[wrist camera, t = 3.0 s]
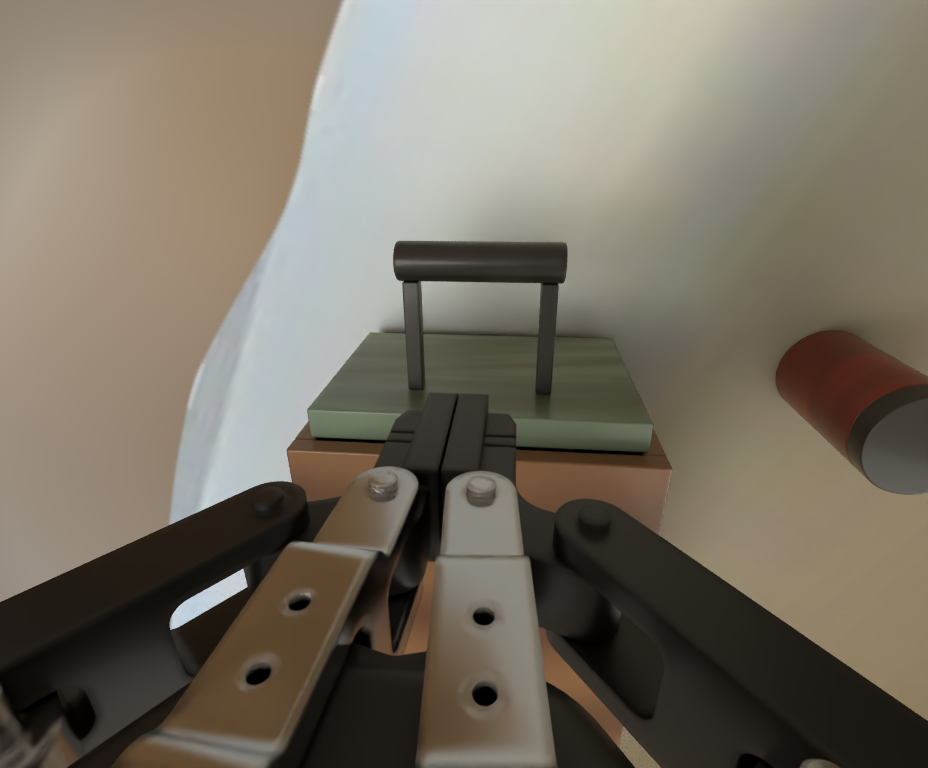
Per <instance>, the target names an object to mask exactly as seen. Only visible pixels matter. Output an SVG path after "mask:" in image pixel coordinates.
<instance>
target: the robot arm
mask: <svg viewBox="0 0 928 768" xmlns="http://www.w3.org/2000/svg"><path fill="white" fill-rule="evenodd" d="M488 408H489V397H488V394H472V393H460V395H458V393H442V392H430V393H429V395H428V397H427V400H426V403H425V405H424V408H423V410H407V411H406V412H405V413H403V414H402V415H401V416H399V417H398V418H397V419H396V420H395V422H394V424H393V426H392V429H391V433H389V435H388V437H387V440H386V442H385V444H384V446H383V448H382V451H381V453H380V455H379V457H378V459H377V462H376V464H375V466H374V468H373V469H369V470H367V471H364V472H362V473H360V474H359V475H357V476H356V477H355V478H354V479H353V480H352V481H351V482H350V484H349V485H348V487H347V488H346V490H345V492H344V493H343V495H342V496H339V497H335V498H330V499H323V500H317V501H310V502H307V497H306V492H305V490H304V489H303V488H302V487H301V486H299V485H297V484H294V483H291V482H283V481H280V482H269V483H264V484H261V485H258V486H255V487H253V488H250V489H248V490H246V491H244V492H242V493H239V494H237V495H235V496H233V497H231V498H228V499H226V500H224V501H222V502H220V503H217V504H215V505H213V506H211V507H209V508H206V509H204V510H202V511H200V512H198V513H195V514H193V515H191V516H189V517H187V518H184V519H182V520H180V521H178V522H176V523H173V524H171V525H169V526H167V527H165V528H162V529H160V530H158V531H156V532H154V533H151V534H149V535H147V536H145V537H143V538H140V539H138V540H136V541H134V542H132V543H129V544H127V545H125V546H123V547H121V548H118V549H116V550H114V551H112V552H110V553H107V554H105V555H103V556H101V557H99V558H96V559H94V560H92V561H90V562H88V563H85V564H83V565H81V566H79V567H77V568H74V569H72V570H70V571H68V572H66V573H63V574H61V575H59V576H57V577H55V578H52V579H50V580H48V581H46V582H44V583H42V584H39V585H37V586H35V587H33V588H31V589H28V590H26V591H24V592H22V593H19V594H17V595H15V596H13V597H11V598H9V599H6V600H4V601H2V602H0V768H635V767H634V766H633V764H632V763H631V762H630V761H629V760H628V758H627V757H626V756H625V755H624V753H623V752H622V751H621V750H620V748H619V747H618V746H617V745H616V744H615V742H614V741H613V740H612V739H611V737H610V736H609V735H608V734H607V733H606V731H605V730H604V729H603V728H602V727H601V725H600V724H599V723H598V722H597V721H596V720H595V718H594V717H593V716H592V715H590V714H589V713H588V712H587V711H586V710H585V709H584V708H583V707H582V706H581V705H580V704H579V703H578V702H577V701H575V700H574V699H573V698H571V697H570V696H569V695H568V694H566V693H565V692H563V691H562V690H560V689H558V688H557V687H555V686H554V685H552V684H550V683H548V682H546V679H545V671H544V663H543V656H542V648H541V640H540V633H539V627H541V628H544V629H546V636H547V639H548V641H549V643H550V645H551V646H552V647H553V648H554V650H555V651H556V652H557V653H558V654H559V655H560V656H561V657H562V659H563V660H564V661H565V662H566V663H567V664H568V665H569V666H570V667H571V668H572V670H573V671H574V672H575V673H576V674H577V675H578V676H579V677H580V678H581V680H582V681H583V682H584V683H585V684H586V685H587V686H588V687H589V688H590V689H591V691H592V692H593V693H594V694H595V695H596V696H597V697H598V698H599V699H600V701H601V702H602V703H603V704H604V705H605V706H606V707H607V708H608V709H609V710H610V712H611V713H612V714H613V715H614V716H615V717H616V718H617V719H618V720H619V722H620V723H621V724H622V725H623V726H624V727H625V728H626V729H627V730H628V731H629V733H630V734H631V735H632V736H633V737H634V738H635V739H636V740H637V741H638V743H639V744H640V745H641V746H642V747H643V748H644V749H645V750H646V751H647V753H648V754H649V755H650V756H651V757H652V758H653V759H654V760H655V761H656V762H657V764H658V765H659V766H660V767H661V768H928V721H927V720H925V719H924V718H922V717H921V716H920V715H918V714H917V713H915V712H914V711H912V710H911V709H909V708H908V707H907V706H905V705H904V704H902V703H901V702H899V701H898V700H896V699H895V698H894V697H892V696H891V695H889V694H888V693H886V692H885V691H883V690H882V689H881V688H879V687H878V686H876V685H875V684H873V683H872V682H870V681H869V680H867V679H866V678H865V677H863V676H862V675H860V674H859V673H857V672H856V671H854V670H853V669H852V668H850V667H849V666H847V665H846V664H844V663H843V662H841V661H840V660H839V659H837V658H836V657H834V656H833V655H831V654H830V653H828V652H827V651H826V650H824V649H823V648H821V647H820V646H818V645H817V644H815V643H814V642H812V641H811V640H810V639H808V638H807V637H805V636H804V635H802V634H801V633H799V632H798V631H797V630H795V629H794V628H792V627H791V626H789V625H788V624H786V623H785V622H784V621H782V620H781V619H779V618H778V617H776V616H775V615H773V614H772V613H771V612H769V611H768V610H766V609H765V608H763V607H762V606H760V605H759V604H757V603H756V602H755V601H753V600H752V599H750V598H749V597H747V596H746V595H744V594H743V593H742V592H740V591H739V590H737V589H736V588H734V587H733V586H731V585H730V584H729V583H727V582H726V581H724V580H723V579H721V578H720V577H718V576H717V575H716V574H714V573H713V572H711V571H710V570H708V569H707V568H705V567H704V566H702V565H701V564H700V563H698V562H697V561H695V560H694V559H692V558H691V557H689V556H688V555H687V554H685V553H684V552H682V551H681V550H679V549H678V548H676V547H675V546H674V545H672V544H671V543H669V542H668V541H666V540H665V539H663V538H662V537H661V536H659V535H658V534H656V533H655V532H653V531H652V530H650V529H649V528H647V527H646V526H645V525H643V524H642V523H640V522H639V521H637V520H636V519H634V518H633V517H632V516H630V515H629V514H627V513H626V512H624V511H623V510H621V509H620V508H618V507H617V506H615V505H612V504H610V503H608V502H605V501H601V500H596V499H577V500H572V501H569V502H567V503H565V504H563V505H562V506H561V507H559V509H558V510H557V511H556V513H554V512H551V511H547V510H544V509H541V508H538V507H536V506H534V505H532V504H530V503H529V502H527V501H526V500H525V499H524V498H523V497H522V496H521V495H520V494H519V492H518V490H517V487H516V423H515V422H514V420H513V419H512V418H511V417H510V415H509V414H504V413H488ZM428 561H430V562H435V572H434V582H433V592H432V602H431V612H430V622H429V632H428V642H427V651H425V652H418V653H412V654H405V655H404V652H405V649H406V646H407V643H408V639H409V636H410V633H411V630H412V627H413V624H414V620H415V617H416V614H417V611H418V608H419V604H420V601H421V598H422V595H423V590H424V584H423V577H424V575H425V572H426V567H427V563H428ZM241 569H244V573H245V577H246V581H247V585H248V587H247V588H245V589H244V590H242V591H240V592H238V593H237V594H235V595H233V596H232V597H230V598H228V599H226V600H225V601H223V602H221V603H220V604H218V605H216V606H214V607H213V608H211V609H209V610H208V611H206V612H204V613H202V614H201V615H199V616H197V617H196V618H194V619H192V620H190V621H189V622H187V623H185V624H184V625H182V626H180V627H178V628H176V629H172V630H170V627H169V622H170V618H171V616H172V614H173V613H174V611H175V610H176V609H177V607H178V606H179V605H180V604H182V603H183V602H184V601H186V600H187V599H189V598H191V597H193V596H194V595H196V594H198V593H200V592H202V591H203V590H205V589H207V588H209V587H211V586H212V585H214V584H216V583H218V582H220V581H221V580H223V579H225V578H227V577H229V576H230V575H232V574H234V573H236V572H238V571H239V570H241Z"/></svg>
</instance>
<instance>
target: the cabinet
mask: <svg viewBox="0 0 928 768" xmlns="http://www.w3.org/2000/svg"><path fill="white" fill-rule="evenodd" d="M349 441H350V439H342V438H321V437H311V432H310V425H309V421H308V423H307V424H306V425H305V426H304V428H303V429H302V430H301V432H300V433H299V434H298V435H297V437H296V438H295V440H294V441H293V442H292V444H291V445H290V446H289V447H288V449H287V456H288V461H289V467H290V473H291V478H292V483H294V484H297V485H299V486H301V487H302V488H303V489H304V490H305V492H306V497H307V502H310V501H317V500H323V499H330V498H335V497H339V496H342V495H343V493H344V492H345V490H346V488H347V487H348V485H349V484H350V482H351V481H352V480H353V479H354V478H355V477H356V476H357V475H359V474H360V473H362V472H364V471H367V470H369V469H373V468H374V466H375V464H376V462H377V459H378V457H379V455H380V453H381V451H382V448H383V446H384V443H363V442H349ZM614 453H615V454H599V453H577V452H556V451H534V450H516V487H517V490H518V492H519V494H520V495H521V496H522V497H523V498H524V499H525V500H526V501H527V502H529V503H530V504H532V505H534V506H536V507H538V508H541V509H544V510H547V511H551V512H554V513H556V511H557V510H558V509H559V507H561V506H562V505H563V504H565V503H567V502H569V501H572V500H577V499H596V500H601V501H605V502H608V503H610V504H612V505H615V506H617V507H618V508H620V509H621V510H623V511H624V512H626V513H627V514H629V515H630V516H632V517H633V518H634V519H636V520H637V521H639V522H640V523H642V524H643V525H645V526H646V527H647V528H649V529H650V530H652V531H653V532H655V533H656V534H658V535H660V530H661V525H662V520H663V515H664V509H665V504H666V499H667V494H668V489H669V483H670V478H671V473H672V467H671V465H670V463H669V461H668V459H667V457H666V454H665V452H664V450H663V448H662V446H661V444H660V442H659V440H658V437H657V435H656V433H655V431H654V429H652V435H651V441H650V447H649V452H625V451H614ZM434 572H435V562H430V561H428V563H427V567H426V572H425V575H424V577H423V584H424V590H423V595H422V598H421V601H420V604H419V608H418V611H417V614H416V617H415V620H414V624H413V627H412V630H411V633H410V636H409V639H408V643H407V646H406V649H405V652H404V655H405V654H412V653H418V652H425V651H427V642H428V632H429V622H430V612H431V602H432V592H433V582H434ZM539 633H540V640H541V648H542V656H543V663H544V671H545V679H546V682H548V683H550V684H552V685H554V686H555V687H557V688H558V689H560V690H562V691H563V692H565V693H566V694H568V695H569V696H570V697H571V698H573V699H574V700H575V701H577V702H578V703H579V704H580V705H581V706H582V707H583V708H584V709H585V710H586V711H587V712H588V713H589V714H590V715H592V716H593V717H594V718H595V720H596V721H597V722H598V723H599V724H600V725H601V727H602V728H603V729H604V730H605V731H606V733H607V734H608V735H609V736H610V737H611V739H612V740H613V741H614V742H615V744H616V745H617V746H618V747H619V743H620V738H621V733H622V728H623V725H622V724H621V723H620V722H619V720H618V719H617V718H616V717H615V716H614V715H613V714H612V713H611V712H610V710H609V709H608V708H607V707H606V706H605V705H604V704H603V703H602V702H601V701H600V699H599V698H598V697H597V696H596V695H595V694H594V693H593V692H592V691H591V689H590V688H589V687H588V686H587V685H586V684H585V683H584V682H583V681H582V680H581V678H580V677H579V676H578V675H577V674H576V673H575V672H574V671H573V670H572V668H571V667H570V666H569V665H568V664H567V663H566V662H565V661H564V660H563V659H562V657H561V656H560V655H559V654H558V653H557V652H556V651H555V650H554V648H553V647H552V646H551V645H550V643H549V641H548V639H547V636H546V629H544V628H541V627H539Z"/></svg>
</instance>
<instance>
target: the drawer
mask: <svg viewBox="0 0 928 768" xmlns="http://www.w3.org/2000/svg"><path fill="white" fill-rule="evenodd" d="M393 265H394V273H395V276H396V278H397V280H399V281H404V282H403V283H402V285H403V302H404V320H405V333H373V332H371V333H369V335H368V336H367V337H366V338H365V339H364V341H363V342H362V343H361V344H360V346H359V347H358V348H357V349H356V350H355V352H354V353H353V354H352V355H351V357H350V358H349V359H348V360H347V361H346V363H345V364H344V365H343V366H342V368H341V369H340V370H339V371H338V373H337V374H336V375H335V376H334V377H333V379H332V380H331V381H330V382H329V384H328V385H327V386H326V387H325V388H324V390H323V391H322V392H321V393H320V395H319V396H318V397H317V398H316V400H315V401H314V402H313V403H312V404H311V406H310V407H309V408H308V410H307V412H308V419H309V425H310V432H311V437H321V438H342V439H350V441H349V442H363V443H384V444H385V442H386V440H387V437H388V435H389V433H391V429H392V426H393V424H394V422H395V420H396V419H397V418H398V417H399V416H401V415H402V414H403V413H405V412H406V411H407V410H423V408H424V405H425V403H426V400H427V397H428V395H429V393H430V392H442V393H458V395H460V393H472V394H488V397H489V408H488V413H504V414H509V415H510V417H511V418H512V419H513V420H514V422H515V423H516V450H534V451H556V452H577V453H599V454H615V453H614V451H625V452H649V447H650V441H651V435H652V429H653V423H652V420H651V418H650V416H649V414H648V412H647V410H646V408H645V406H644V404H643V402H642V400H641V398H640V396H639V394H638V391H637V389H636V387H635V385H634V383H633V381H632V379H631V377H630V375H629V373H628V371H627V369H626V367H625V364H624V362H623V360H622V358H621V356H620V354H619V352H618V350H617V348H616V346H615V344H614V342H613V340H612V339H602V338H564V337H555V331H556V317H557V303H558V289H559V286H558V283H564V281H565V278H566V271H567V245H566V243H564V242H473V241H398V242H396V244H395V247H394V254H393ZM421 281H447V282H508V283H541V292H540V310H539V328H538V337H526V336H487V335H449V334H423V315H422V292H421Z"/></svg>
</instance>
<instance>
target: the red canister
mask: <svg viewBox="0 0 928 768" xmlns="http://www.w3.org/2000/svg"><path fill="white" fill-rule="evenodd" d="M776 385H777V389H778V391H779V393H780V395H781V396H782V398H783V399H784V400H785V401H786V402H787V403H788V404H789V405H790V406H791V407H792V408H793V409H794V410H796V411H797V412H798V413H799V414H800V415H801V416H802V417H803V418H804V419H805V420H806V421H807V422H808V423H809V424H810V425H811V426H812V427H813V428H814V429H815V430H817V431H818V432H819V433H820V434H821V435H822V436H823V437H824V438H825V439H826V440H827V441H828V442H829V443H830V444H831V445H832V446H833V447H834V448H835V449H836V450H837V451H839V452H840V453H841V454H842V455H843V456H844V457H845V458H846V459H847V460H848V461H849V462H850V463H851V464H852V465H853V466H854V467H855V468H856V469H857V470H858V471H860V472H861V473H862V474H863V475H864V476H865V477H866V478H867V479H868V480H869V481H870V482H871V483H872V484H874V485H875V486H877V487H878V488H880V489H882V490H885V491H888V492H892V493H896V494H905V495H913V494H922V493H927V492H928V376H926V375H924V374H922V373H920V372H919V371H917V370H915V369H913V368H912V367H910V366H908V365H906V364H904V363H903V362H901V361H899V360H897V359H896V358H894V357H892V356H890V355H888V354H887V353H885V352H883V351H881V350H879V349H878V348H876V347H874V346H872V345H871V344H869V343H867V342H865V341H863V340H862V339H860V338H858V337H856V336H854V335H853V334H850V333H847V332H842V331H825V332H820V333H816V334H813V335H811V336H808V337H806V338H804V339H803V340H801V341H799V342H798V343H796V344H795V345H794V346H793V347H792V348H791V349H790V350H789V351H788V352H787V353H786V354H785V355H784V357H783V358H782V360H781V362H780V364H779V366H778V369H777V373H776Z"/></svg>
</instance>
